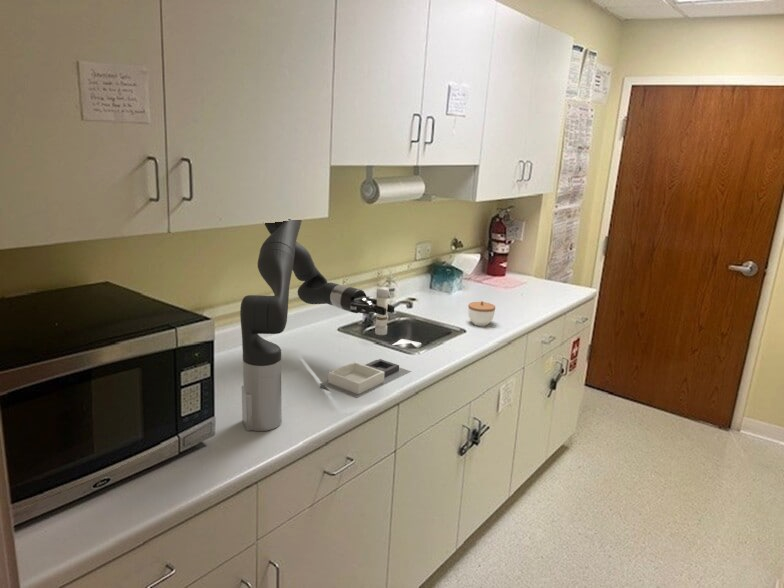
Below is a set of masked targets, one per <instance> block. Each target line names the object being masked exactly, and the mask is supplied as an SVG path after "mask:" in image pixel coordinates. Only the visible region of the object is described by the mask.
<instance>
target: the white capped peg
mask: <svg viewBox="0 0 784 588" xmlns="http://www.w3.org/2000/svg"><path fill="white" fill-rule="evenodd" d="M389 296H390V287H387V286H386V287H385V286H378V287H377V288H376V299H377V306H381V307H384V308H386V315H380V314H377V313H375V314H376V316H375V326H374V327H375V328H374V329H375V330H374V334H375V335H378V336H385V335H388V323H387V322H388V312H387V308H388V304H389Z"/></svg>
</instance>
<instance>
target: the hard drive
mask: <svg viewBox="0 0 784 588" xmlns="http://www.w3.org/2000/svg"><path fill="white" fill-rule="evenodd" d="M404 344H412V345H413V346H414V347H415V348H417V349H419V348H420V347H422V343H421V342H419V341H415V340H414V341H413V340H409V339H403V338H401V339H399V340H397V341H396V342H394V343H393V344H392V346H397V345H398V346H399V345H404Z"/></svg>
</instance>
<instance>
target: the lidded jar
mask: <svg viewBox="0 0 784 588" xmlns="http://www.w3.org/2000/svg"><path fill="white" fill-rule="evenodd" d="M467 306H468V310H467V311H468V312H467V313H468V317H469V320H470V321H471V323H472V324H473V325H475V326H478V327H486V325H487V326H488V325H489V324H490V323H492V320H493V319H494V317H495V312H496V311H495V310H496V305H494V304H492V303H490V302H484V301H483V300H482V301H481V300H480V301H472V302H469V303H468V305H467Z"/></svg>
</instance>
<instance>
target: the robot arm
mask: <svg viewBox="0 0 784 588" xmlns="http://www.w3.org/2000/svg"><path fill="white" fill-rule="evenodd" d="M288 220H289V221H283V222H275V223H265V224H264V226H265V228H266V230H267V231H268V233H269V234H270V235H269V236H268V237H267V238H266V240H264V241H263V243H262V244H261V247H260V250H259V254H258V260H257V269H258V272H259V274H260V275H261V276H260V277H262V279H263V280H264V281H265V283H266V284H267V286H268V287H269V288H270V289H271V291H272V292H273V294H274V295H261V294H259V295H257V294H255V295H253V294H251V295H250V294H247V295H245V296H243V297H242V300H241V303H240V313H239V317H240V329H241V340H242V341H241V342H242V344H241V346H242V374H243V375H242V378H243V380H242V381H243V383H242V384H243V385H242V386H241V407H242V408H241V412H242V414H241V415H242V418H241V419H242V422H243V425H244V427H245V429H246V431H247V432H248V431H256V432H266V431H270V430H274V429H276V428H278V427H279V426H280V425H281V424H282V417H283V416H282V349H281V347H280V346H279V345H278V344H276V343H274V342H272V341H269V340H268V339H267V340H266V339H265V338H263V337H261V335H276V334H278V335H279V334H281V333H283V332H284V330H285V329H286V327H287V322H288V312H289V297H290V296H289V294H290V287H291V286H290V285H291V278H292V273H293V274H294V276H295V277H296V279H297V280H299V281H300V282H302V284H301V285H300V286H299V287H298V289H297V296H298V298H299V299H300V301H302V302H303V303H306V304H309V305H330V306H333V307H335V308H337V309H340V310H343V311H347V312H350V313H352V314H363V315H365V314H367V315H369V314H380V315H386V308H384V307H381V306H377V297H376V298H375V297H372V296H369V295H367V294H366V292H365V291H364V290H362V289H360V288H356V287H353V286H348V285H346V284H345V285H343V284H338V283H335V282H328V280H327V279H326V277H325V276H324V275H323V274H322V273H321V271H319V269H318V268H317V267H316V265H315V262H314V261H313V258H312V255H311V254H310V252H309V251H308V249H307V248H306V247H305V246H303V245H302V244H300V242H298V241H297V239H298V235H299V232H300V229H301V225H302V221H303V220H291V219H288ZM387 313H391V314H393V313H395V305H392V304H390V303H388V308H387ZM260 334H261V335H260Z"/></svg>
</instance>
